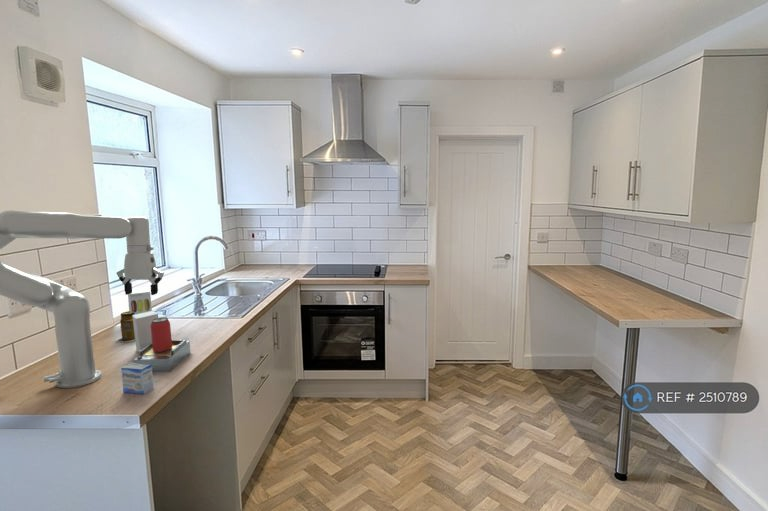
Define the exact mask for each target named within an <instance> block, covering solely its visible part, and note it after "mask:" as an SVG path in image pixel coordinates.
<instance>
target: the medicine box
mask: <svg viewBox="0 0 768 511" xmlns="http://www.w3.org/2000/svg"><path fill="white" fill-rule="evenodd" d="M120 371H121V380H122V381H121V382H122V391H123V394H124V393H125V394H138V395H145V394H147V393H148V392H150V391H152V390H153V389H154V377H153V372H152V365H148V364H135V363H134V362H133V363H132V362H130V363H128V364H126V365H124V366H122V367H121V368H120Z"/></svg>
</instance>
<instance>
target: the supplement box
mask: <svg viewBox="0 0 768 511" xmlns="http://www.w3.org/2000/svg"><path fill="white" fill-rule="evenodd" d="M151 297H152V295H151V290H150V288H140V289H132V293H131V294H128V295H127V298H128V299H127V300H128V311H133V312H134V313H135V315H136V314H141V313H146V312H150V311H153V309H152V298H151Z"/></svg>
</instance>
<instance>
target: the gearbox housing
mask: <svg viewBox="0 0 768 511" xmlns="http://www.w3.org/2000/svg"><path fill="white" fill-rule="evenodd" d="M190 344H191V343H190V340H187V339H172V348H171V349H169V350H167V351H164V352H155V351H153V347H152V343H150V344H149V345H147V346H146V347H145V348H143V349H142V350H140V351H139V352H138V356H137V357H136V358H134V359H133V363H135V364H148V365H152V373H166V372H167V373H170V372H172V371H173V370H174V369H175V368H176V367H177V366H178V365H179V364H180V363H182V361H184V360H185V359H186V358H187V356H189V355H190V354H191V345H190Z"/></svg>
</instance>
